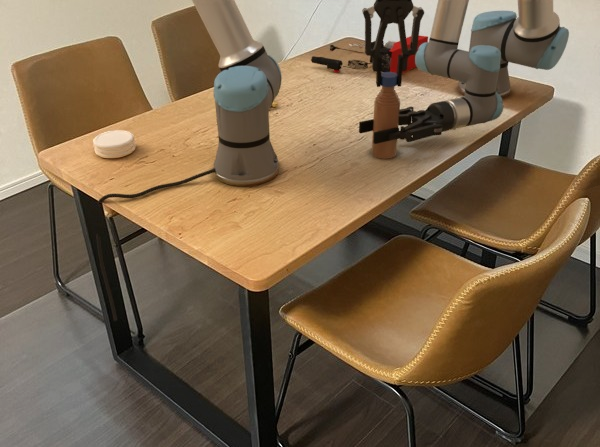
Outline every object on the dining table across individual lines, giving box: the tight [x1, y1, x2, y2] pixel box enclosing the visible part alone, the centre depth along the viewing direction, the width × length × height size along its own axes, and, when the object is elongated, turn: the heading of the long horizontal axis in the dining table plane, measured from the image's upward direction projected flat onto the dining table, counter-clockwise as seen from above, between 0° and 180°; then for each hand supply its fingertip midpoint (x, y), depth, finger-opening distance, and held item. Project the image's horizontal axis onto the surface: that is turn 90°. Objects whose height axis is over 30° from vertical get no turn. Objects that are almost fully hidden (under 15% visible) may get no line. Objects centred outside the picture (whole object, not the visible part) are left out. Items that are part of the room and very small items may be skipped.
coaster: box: [92, 129, 137, 159], centre depth 155 cm, size 10×10×4 cm
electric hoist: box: [310, 35, 429, 75], centre depth 208 cm, size 10×27×30 cm
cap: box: [380, 72, 398, 88], centre depth 143 cm, size 4×4×2 cm
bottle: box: [371, 86, 401, 160], centre depth 148 cm, size 6×6×19 cm
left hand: (388, 84), depth 143 cm, fingers closed on cap, 4 cm apart
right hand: (367, 132), depth 148 cm, fingers closed on bottle, 6 cm apart
